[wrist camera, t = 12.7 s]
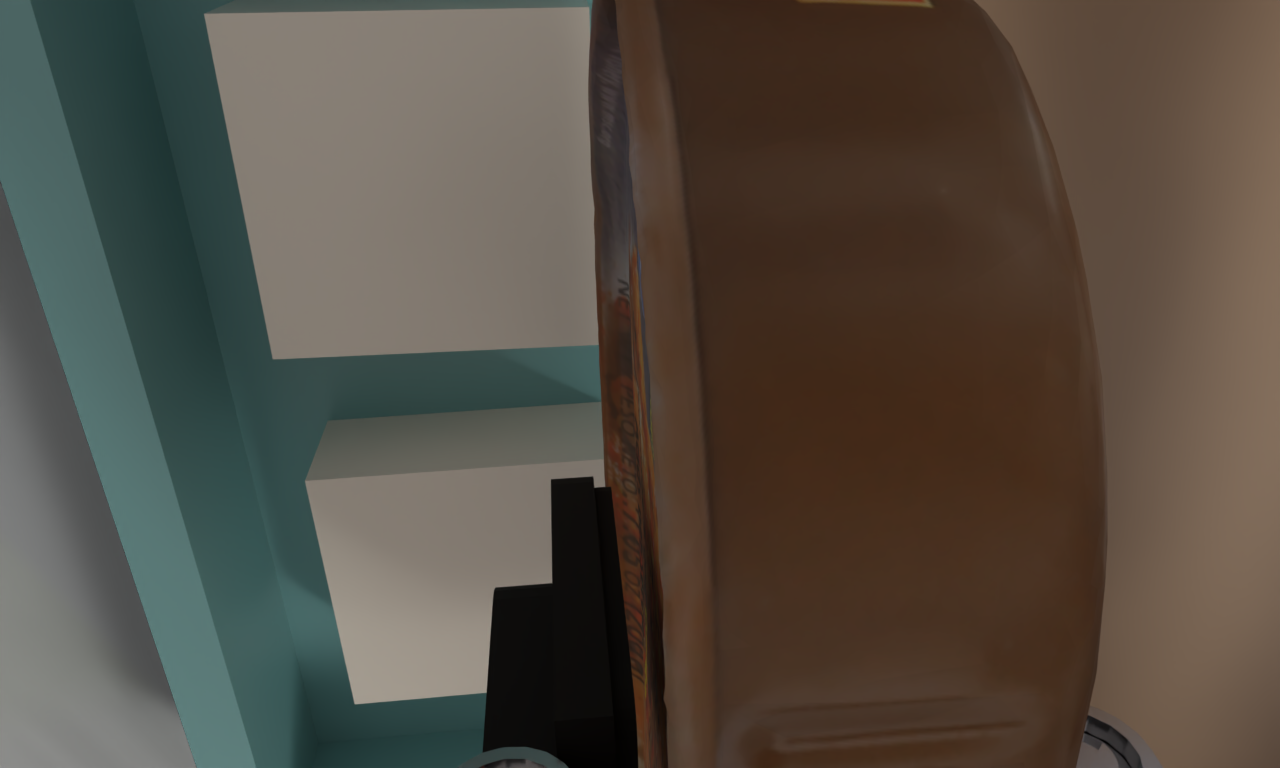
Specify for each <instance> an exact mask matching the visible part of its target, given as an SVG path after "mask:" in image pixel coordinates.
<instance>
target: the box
mask: <svg viewBox="0 0 1280 768" xmlns="http://www.w3.org/2000/svg"><path fill="white" fill-rule="evenodd" d="M232 1H234V0H0V181H1V184H2V187H3V190H4V193H5V196H6V199H7V202H8V205H9V208H10V211H11V214H12V217H13V220H14V223H15V226H16V229H17V232H18V235H19V238H20V241H21V244H22V247H23V250H24V253H25V256H26V259H27V262H28V265H29V268H30V271H31V274H32V277H33V280H34V283H35V286H36V289H37V292H38V295H39V298H40V301H41V304H42V307H43V310H44V313H45V316H46V319H47V322H48V325H49V328H50V331H51V334H52V337H53V340H54V343H55V346H56V349H57V352H58V355H59V358H60V361H61V364H62V367H63V370H64V373H65V376H66V379H67V382H68V385H69V388H70V391H71V394H72V397H73V399H74V402H75V405H76V408H77V411H78V414H79V417H80V420H81V423H82V426H83V429H84V432H85V435H86V438H87V441H88V444H89V447H90V450H91V453H92V456H93V459H94V462H95V465H96V468H97V471H98V474H99V477H100V480H101V483H102V486H103V489H104V492H105V495H106V498H107V501H108V504H109V507H110V510H111V513H112V516H113V519H114V522H115V525H116V528H117V531H118V534H119V537H120V540H121V543H122V546H123V549H124V552H125V555H126V558H127V561H128V564H129V567H130V570H131V573H132V576H133V579H134V582H135V585H136V588H137V591H138V594H139V597H140V600H141V603H142V606H143V609H144V612H145V615H146V618H147V621H148V624H149V627H150V630H151V633H152V636H153V639H154V642H155V645H156V647H157V650H158V653H159V656H160V659H161V662H162V665H163V668H164V671H165V674H166V677H167V680H168V683H169V686H170V689H171V692H172V695H173V698H174V701H175V704H176V707H177V710H178V713H179V716H180V719H181V722H182V725H183V728H184V731H185V734H186V737H187V740H188V743H189V746H190V749H191V752H192V755H193V758H194V761H195V764H196V767H197V768H458V767H459V766H460V765H461V764H462V763H464V762H466V761H468V760H470V759H471V758H473V757H475V756H477V755H479V754H481V753H482V752H483V737H484V722H485V708H486V693H477V694H466V695H455V696H443V697H432V698H421V699H410V700H398V701H387V702H376V703H364V704H355V703H354V699H353V694H352V690H351V685H350V681H349V676H348V672H347V667H346V663H345V659H344V654H343V650H342V645H341V641H340V636H339V632H338V627H337V623H336V618H335V614H334V609H333V605H332V600H331V596H330V591H329V587H328V582H327V578H326V573H325V569H324V564H323V560H322V555H321V551H320V546H319V542H318V537H317V533H316V528H315V524H314V519H313V515H312V510H311V506H310V502H309V497H308V493H307V488H306V484H305V480H306V477H307V474H308V472H309V469H310V466H311V464H312V461H313V458H314V456H315V453H316V450H317V448H318V445H319V443H320V440H321V437H322V435H323V432H324V429H325V427H326V424H327V421H330V420H344V419H359V418H373V417H388V416H402V415H417V414H431V413H445V412H460V411H474V410H489V409H503V408H518V407H532V406H547V405H561V404H576V403H590V402H601V385H600V368H599V345H586V346H564V347H541V348H519V349H496V350H474V351H451V352H429V353H406V354H384V355H361V356H339V357H316V358H294V359H273V358H272V353H271V348H270V343H269V338H268V333H267V328H266V323H265V318H264V313H263V308H262V303H261V297H260V292H259V287H258V282H257V277H256V272H255V267H254V262H253V257H252V252H251V247H250V242H249V237H248V232H247V227H246V222H245V217H244V212H243V207H242V202H241V197H240V192H239V187H238V182H237V177H236V172H235V167H234V162H233V157H232V152H231V147H230V142H229V137H228V132H227V127H226V122H225V117H224V112H223V107H222V102H221V97H220V92H219V87H218V82H217V77H216V72H215V67H214V62H213V57H212V52H211V47H210V42H209V37H208V32H207V26H206V21H205V16H204V14H205V13H207V12H209V11H211V10H214V9H216V8H218V7H221V6H223V5H225V4H227V3H230V2H232ZM587 2H588V5H589V16H590V33H591V9H592V2H593V0H587Z"/></svg>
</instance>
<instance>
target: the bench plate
mask: <svg viewBox="0 0 1280 768" xmlns="http://www.w3.org/2000/svg"><path fill="white" fill-rule="evenodd" d="M973 1H975V2H976V3H977V4H978V5H979V6H980V7H981V8H982V9H984V10H985V11H986V12H987V14H988V15H989V16H990V18H991V19H992V20H993V22H994V23H995V24H996V26H997V27H998V28H999V30H1000V31H1001V32H1002V34H1003V35H1004V36H1005V38H1006V39H1007V40H1008V42H1009V43H1010V44H1011V46H1012V47H1013V50H1014V52H1015V54H1016V56H1017V58H1018V61H1019V63H1020V65H1021V67H1022V69H1023V71H1024V74H1025V76H1026V78H1027V80H1028V82H1029V85H1030V87H1031V89H1032V92H1033V94H1034V97H1035V100H1036V102H1037V105H1038V107H1039V110H1040V113H1041V115H1042V118H1043V120H1044V123H1045V126H1046V128H1047V131H1048V133H1049V136H1050V139H1051V141H1052V144H1053V146H1054V150H1055V153H1056V157H1057V160H1058V164H1059V167H1060V171H1061V175H1062V178H1063V182H1064V185H1065V189H1066V192H1067V196H1068V200H1069V203H1070V207H1071V210H1072V214H1073V217H1074V221H1075V225H1076V228H1077V232H1078V237H1079V242H1080V247H1081V252H1082V257H1083V263H1084V268H1085V273H1086V278H1087V284H1088V290H1089V297H1090V303H1091V310H1092V316H1093V323H1094V329H1095V336H1096V342H1097V349H1098V355H1099V362H1100V368H1101V375H1102V387H1103V404H1104V422H1105V440H1106V458H1107V532H1108V541H1107V560H1106V579H1105V592H1104V602H1103V613H1102V623H1101V633H1100V643H1099V653H1098V664H1097V674H1096V678H1095V683H1094V688H1093V692H1092V697H1091V702H1090V706H1092V707H1096V708H1099V709H1101V710H1103V711H1105V712H1107V713H1109V714H1111V715H1113V716H1115V717H1117V718H1119V719H1120V720H1121V721H1123V722H1124V723H1125V724H1127V725H1128V726H1129V727H1130V728H1132V729H1133V730H1134V731H1136V732H1137V733H1138V734H1139V735H1140V736H1141V737H1142V739H1143V740H1144V741H1145V742H1146V743H1147V745H1148V746H1149V747H1150V748H1151V750H1152V751H1153V752H1154V754H1155V756H1156V757H1157V759H1158V760H1159V762H1160V764H1161V765H1162V767H1163V768H1280V0H973Z"/></svg>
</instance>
